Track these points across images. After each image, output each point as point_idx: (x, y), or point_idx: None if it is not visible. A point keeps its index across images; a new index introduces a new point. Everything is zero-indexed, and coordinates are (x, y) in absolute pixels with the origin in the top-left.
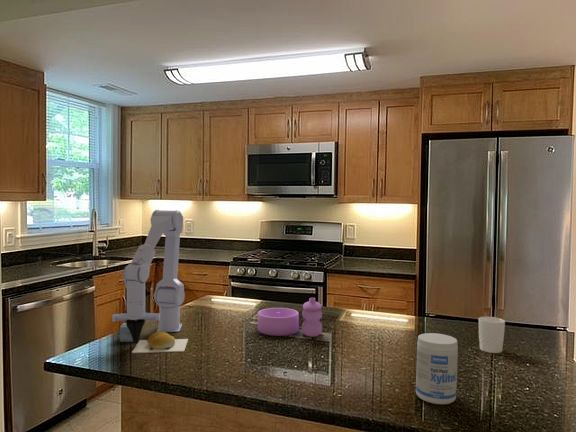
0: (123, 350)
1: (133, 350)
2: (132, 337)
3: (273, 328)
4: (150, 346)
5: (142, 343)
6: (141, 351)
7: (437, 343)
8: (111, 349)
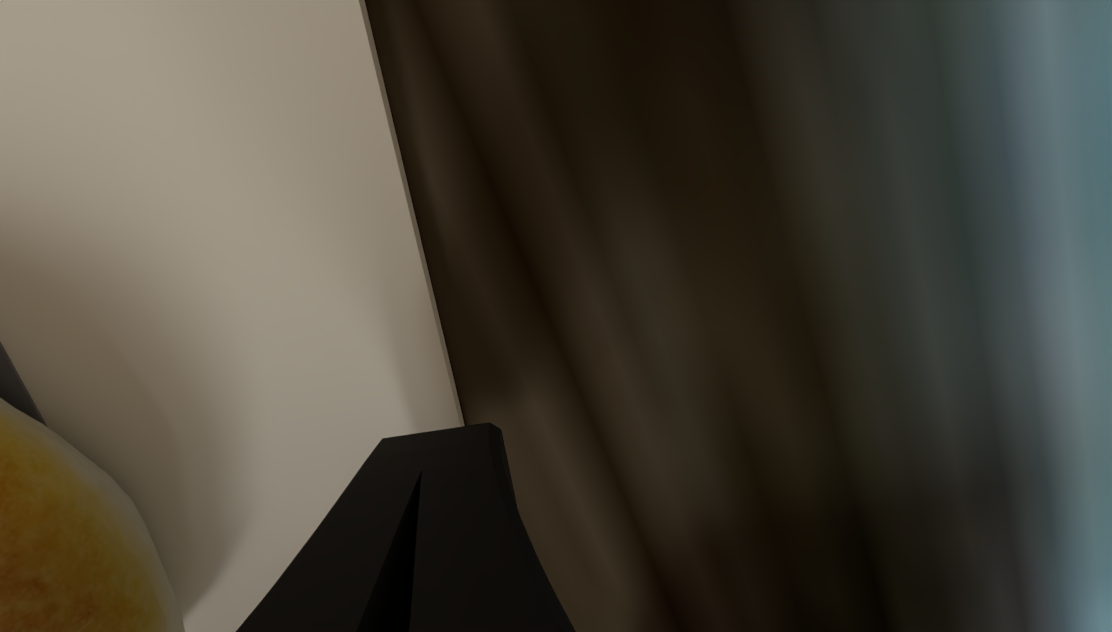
0: (689, 160)
1: (360, 89)
2: (507, 528)
3: None
4: (63, 434)
5: None
6: (49, 8)
7: None
8: (1021, 216)
